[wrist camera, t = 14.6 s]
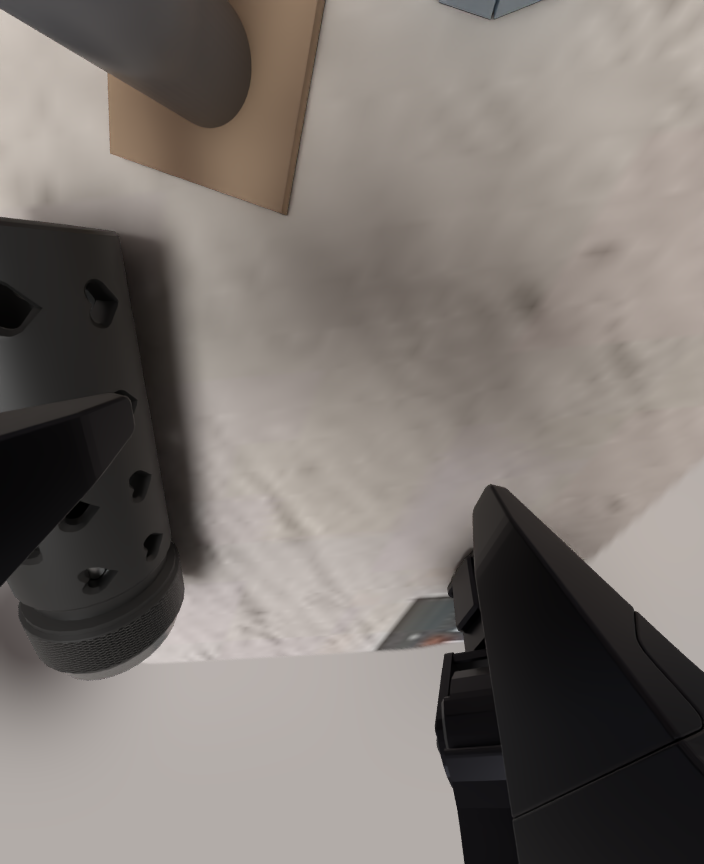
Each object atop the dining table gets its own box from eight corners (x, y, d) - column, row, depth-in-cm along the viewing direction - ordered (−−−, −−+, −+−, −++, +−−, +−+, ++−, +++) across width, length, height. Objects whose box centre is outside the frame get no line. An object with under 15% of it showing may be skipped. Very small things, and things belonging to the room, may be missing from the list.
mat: (334, -50, 13) (329, -67, 12) (286, 215, 17) (281, 213, 17) (117, -122, 13) (100, -143, 13) (122, 157, 18) (110, 153, 17)
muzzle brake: (178, 238, 19) (-44, 217, 10) (214, 581, 32) (132, 709, 23) (27, 219, 20) (-300, 183, 11) (121, 559, 33) (7, 673, 24)
